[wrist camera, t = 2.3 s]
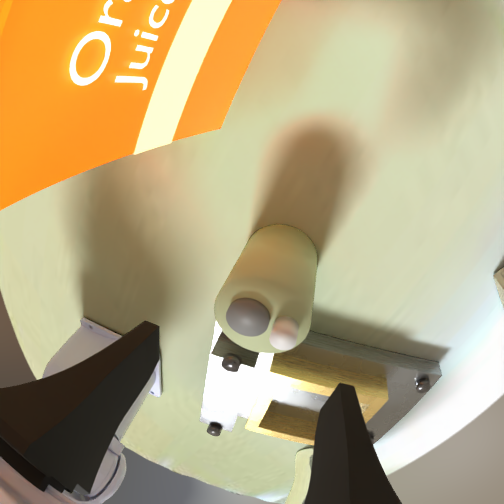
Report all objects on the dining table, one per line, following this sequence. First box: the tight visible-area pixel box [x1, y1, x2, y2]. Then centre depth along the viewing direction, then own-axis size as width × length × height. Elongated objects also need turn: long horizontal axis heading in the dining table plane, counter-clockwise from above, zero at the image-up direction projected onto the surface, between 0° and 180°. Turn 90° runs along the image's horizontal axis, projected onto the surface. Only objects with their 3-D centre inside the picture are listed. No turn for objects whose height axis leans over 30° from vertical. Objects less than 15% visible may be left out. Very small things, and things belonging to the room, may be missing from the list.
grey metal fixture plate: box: [200, 321, 442, 445], centre depth 22 cm, size 18×12×5 cm, turn 78°
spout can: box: [214, 224, 318, 354], centre depth 16 cm, size 5×5×7 cm
